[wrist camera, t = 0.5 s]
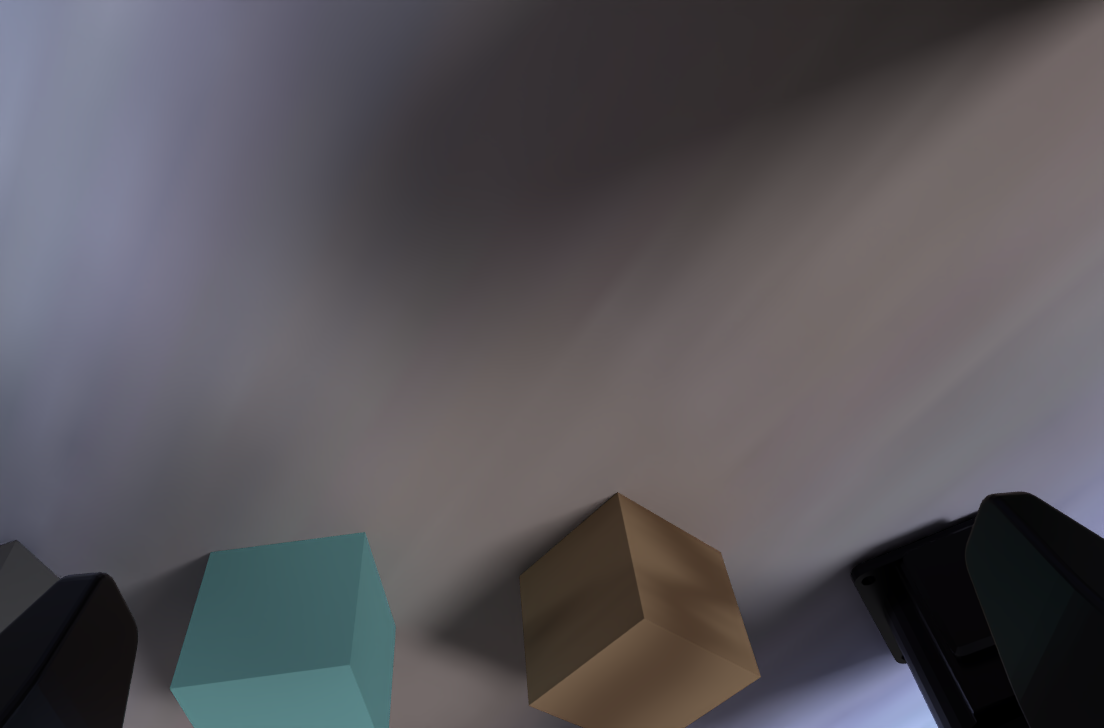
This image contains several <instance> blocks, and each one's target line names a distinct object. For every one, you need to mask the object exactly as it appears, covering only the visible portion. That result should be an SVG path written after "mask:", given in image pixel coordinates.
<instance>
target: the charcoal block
mask: <svg viewBox="0 0 1104 728" xmlns="http://www.w3.org/2000/svg"><path fill="white" fill-rule="evenodd" d="M58 580H60V578H59V577H57V576H56V575H55V574H54V573H53V572H52V571H51V570H50V569H49V568H47V567H46V566H45V565H44V564H43V563H42V562H41V561H40V560H39V559H37V558H36V557H35V556H34V555H33V554H32V553H31V552H30V551H29V550H27V549H26V548H25V547H24V546H23V545H22V544H21V543H20V542H19V541H17V540H15V541H12V542H9V543H6V544H3V545H0V632H2V631H3V630H4V629H5V628H6V627H7V626H8V625H9V624H10V623H11V622H13V621H14V620H15V619H16V618H17V617H18V616H19V615H20V614H21V613H22V612H24V611H25V610H26V609H27V608H28V607H29V606H30V605H31V604H32V603H33V602H35V601H36V600H37V599H38V598H39V597H40V596H41V595H42V594H43V593H44V592H46V591H47V590H48V589H49V588H50V587H51V586H52V585H53V584H54V583H56V582H57V581H58Z"/></svg>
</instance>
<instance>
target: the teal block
mask: <svg viewBox="0 0 1104 728" xmlns="http://www.w3.org/2000/svg"><path fill="white" fill-rule="evenodd" d="M395 630H396V626H395V623H394V620H393V617H392V614H391V611H390V608H389V605H388V602H387V599H386V595H385V592H384V589H383V586H382V583H381V580H380V577H379V574H378V571H377V568H376V565H375V562H374V559H373V555H372V552H371V549H370V546H369V543H368V540H367V537H366V534H365V532H363V533H356V534H348V535H340V536H333V537H325V538H317V539H309V540H302V541H294V542H286V543H279V544H271V545H263V546H255V547H248V548H240V549H232V550H225V551H217V552H211V553H210V556H209V560H208V563H207V566H206V570H205V573H204V576H203V580H202V583H201V586H200V590H199V593H198V596H197V600H196V603H195V606H194V610H193V613H192V616H191V620H190V623H189V626H188V630H187V633H186V636H185V640H184V643H183V646H182V650H181V653H180V656H179V660H178V663H177V666H176V670H175V673H174V676H173V680H172V683H171V686H170V690H171V692H172V693H173V695H174V696H175V698H176V700H177V701H178V703H179V704H180V706H181V708H182V709H183V711H184V712H185V714H186V716H187V717H188V719H189V720H190V722H191V723H192V725H193V727H194V728H389V719H390V704H391V689H392V674H393V660H394V645H395Z"/></svg>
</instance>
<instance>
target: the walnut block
mask: <svg viewBox="0 0 1104 728" xmlns="http://www.w3.org/2000/svg"><path fill="white" fill-rule="evenodd" d="M519 579H520V593H521V606H522V619H523V633H524V646H525V660H526V673H527V687H528V700H529V706H531V707H533V708H536V709H538V710H541V711H543V712H546V713H548V714H551V715H553V716H556V717H558V718H561V719H563V720H566V721H568V722H570V723H573V724H575V725H578V726H580V727H583V728H685V727H686V726H688V725H689V724H691V723H692V722H694V721H695V720H697V719H698V718H700V717H701V716H703V715H704V714H706V713H707V712H709V711H710V710H712V709H713V708H715V707H716V706H718V705H719V704H721V703H722V702H724V701H725V700H727V699H728V698H730V697H732V696H733V695H735V694H736V693H738V692H739V691H741V690H742V689H744V688H745V687H747V686H748V685H750V684H751V683H753V682H754V681H756V680H757V679H759V678H760V677H761V676H760V673H759V669H758V666H757V663H756V660H755V657H754V654H753V651H752V648H751V645H750V642H749V638H748V635H747V632H746V629H745V626H744V623H743V620H742V617H741V614H740V611H739V607H738V604H737V601H736V598H735V595H734V592H733V589H732V586H731V583H730V580H729V577H728V573H727V570H726V567H725V564H724V561H723V558H722V555H721V552H719V551H717V550H716V549H714V548H712V547H711V546H709V545H707V544H705V543H704V542H702V541H700V540H699V539H697V538H695V537H693V536H692V535H690V534H688V533H687V532H685V531H683V530H681V529H680V528H678V527H676V526H675V525H673V524H671V523H669V522H668V521H666V520H664V519H663V518H661V517H659V516H657V515H656V514H654V513H652V512H651V511H649V510H647V509H645V508H644V507H642V506H640V505H639V504H637V503H635V502H633V501H632V500H630V499H628V498H627V497H625V496H623V495H621V494H620V493H618V492H617V493H616V494H615V495H614V496H613V497H612V498H610V499H609V500H608V501H607V502H606V503H605V504H603V505H602V506H601V507H600V508H599V509H598V510H596V511H595V512H594V513H593V514H592V515H591V516H589V517H588V518H587V519H586V520H585V521H583V522H582V523H581V524H580V525H579V526H578V527H576V528H575V529H574V530H573V531H572V532H571V533H569V534H568V535H567V536H566V537H565V538H564V539H562V540H561V541H560V542H559V543H558V544H557V545H555V546H554V547H553V548H552V549H551V550H550V551H548V552H547V553H546V554H545V555H544V556H543V557H541V558H540V559H539V560H538V561H537V562H536V563H534V564H533V565H532V566H531V567H530V568H529V569H527V570H526V571H525V572H524V573H523V574H522V575H520V576H519Z"/></svg>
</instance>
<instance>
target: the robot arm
mask: <svg viewBox="0 0 1104 728" xmlns="http://www.w3.org/2000/svg"><path fill="white" fill-rule="evenodd" d="M851 578H852V580H853V582H854V584H855V586H856V588H857V590H858V592H859V594H860V596H861V597H862V599H863V601H864V603H865V605H866V607H867V609H868V610H869V612H870V614H871V616H872V618H873V620H874V621H875V623H876V625H877V627H878V629H879V631H880V633H881V634H882V636H883V638H884V640H885V642H886V644H887V645H888V647H889V649H890V651H891V653H892V655H893V656H894V658H895V660H896V661H897V662H898V663H901V664H903V663H907V664H908V666H909V668H910V670H911V672H912V674H913V677H914V679H915V681H916V683H917V685H918V687H919V689H920V691H921V693H922V695H923V697H924V699H925V701H926V703H927V705H928V707H929V710H930V712H931V714H932V716H933V718H934V720H935V722H936V724H937V726H938V728H1104V539H1103V538H1102V537H1100V536H1099V535H1097V534H1095V533H1094V532H1092V531H1091V530H1089V529H1087V528H1086V527H1084V526H1083V525H1081V524H1079V523H1078V522H1076V521H1075V520H1073V519H1071V518H1070V517H1068V516H1067V515H1065V514H1063V513H1062V512H1060V511H1059V510H1057V509H1055V508H1054V507H1052V506H1051V505H1049V504H1047V503H1046V502H1044V501H1043V500H1041V499H1039V498H1038V497H1036V496H1034V495H1032V494H1030V493H1027V492H1009V493H997V494H991V495H988V496H987V497H986V498H985V499H984V500H982V503H981V505H980V507H979V510H978V513H977V516H976V518H973V519H971V520H968V521H966V522H963V523H961V524H958V525H956V526H954V527H951V528H949V529H946V530H944V531H941V532H939V533H936V534H934V535H931V536H929V537H926V538H924V539H921V540H919V541H917V542H914V543H912V544H909V545H907V546H904V547H902V548H899V549H897V550H894V551H892V552H889V553H887V554H884V555H882V556H880V557H877V558H875V559H872V560H870V561H867V562H865V563H862V564H860V565H858V566H856V567H855V568H854V569H853V570H852V572H851ZM137 644H138V631H137V626H136V623H135V620H134V618H133V616H132V614H131V612H130V610H129V608H128V606H127V604H126V602H125V600H124V598H123V597H122V595H121V593H120V591H119V589H118V587H117V585H116V583H115V581H114V580H113V578H112V577H111V576H109V575H108V574H106V573H102V572H98V573H86V574H75V575H68V576H65V577H63V578H61V579H60V580H58V581H57V582H56V583H54V584H53V585H52V586H51V587H50V588H49V589H48V590H47V591H46V592H44V593H43V594H42V595H41V596H40V597H39V598H38V599H37V600H36V601H35V602H33V603H32V604H31V605H30V606H29V607H28V608H27V609H26V610H25V611H24V612H22V613H21V614H20V615H19V616H18V617H17V618H16V619H15V620H14V621H13V622H11V623H10V624H9V625H8V626H7V627H6V628H5V629H4V630H3V631H2V632H0V728H123V722H124V717H125V711H126V706H127V700H128V695H129V689H130V684H131V678H132V673H133V667H134V662H135V656H136V651H137Z"/></svg>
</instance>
